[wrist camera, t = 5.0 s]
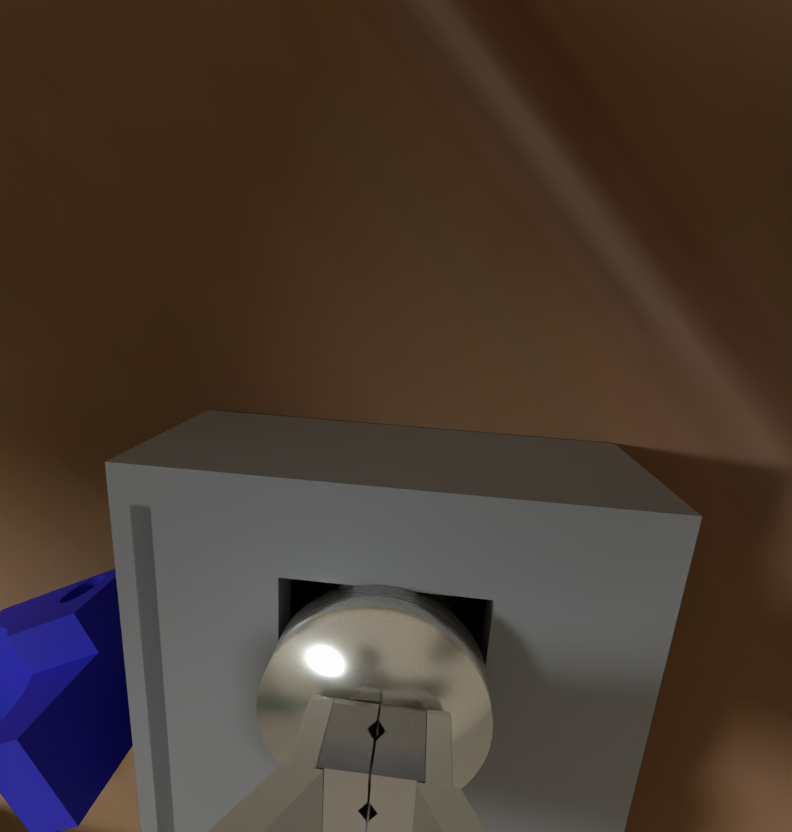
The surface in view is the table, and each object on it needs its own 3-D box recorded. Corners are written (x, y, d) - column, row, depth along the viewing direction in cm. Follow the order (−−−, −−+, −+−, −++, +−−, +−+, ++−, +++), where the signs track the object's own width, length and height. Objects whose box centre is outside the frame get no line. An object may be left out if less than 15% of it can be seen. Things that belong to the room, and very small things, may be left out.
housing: (229, 950, 22) (171, 1133, 17) (208, 409, 15) (104, 461, 11) (510, 994, 21) (532, 1201, 16) (614, 443, 15) (702, 516, 10)
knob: (319, 625, 17) (257, 796, 11) (322, 490, 16) (254, 606, 10) (464, 641, 17) (479, 826, 11) (480, 505, 15) (506, 634, 9)
